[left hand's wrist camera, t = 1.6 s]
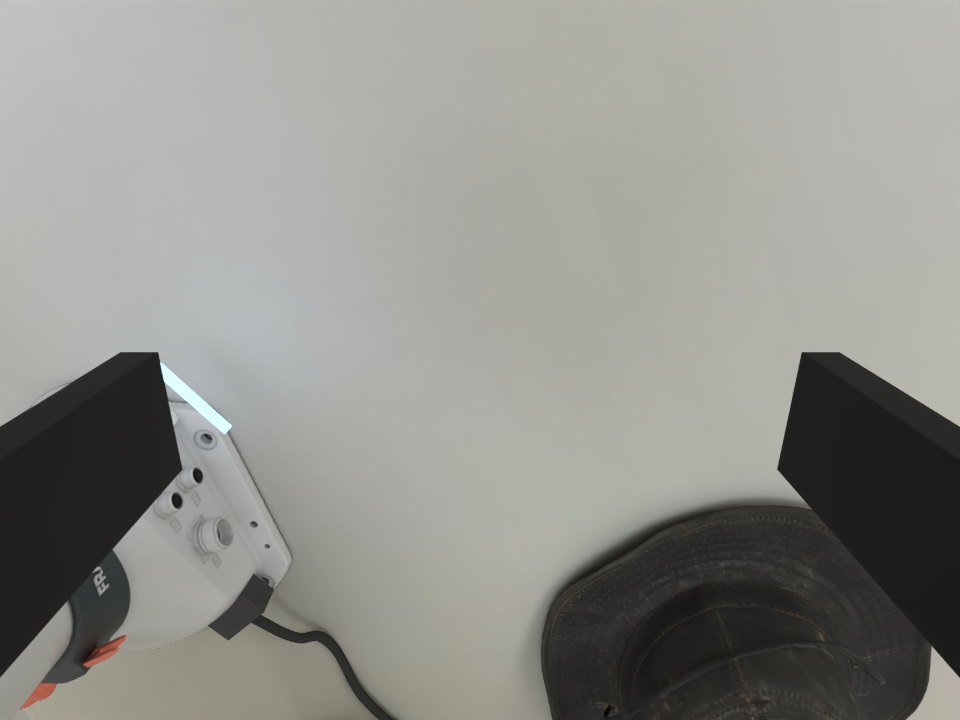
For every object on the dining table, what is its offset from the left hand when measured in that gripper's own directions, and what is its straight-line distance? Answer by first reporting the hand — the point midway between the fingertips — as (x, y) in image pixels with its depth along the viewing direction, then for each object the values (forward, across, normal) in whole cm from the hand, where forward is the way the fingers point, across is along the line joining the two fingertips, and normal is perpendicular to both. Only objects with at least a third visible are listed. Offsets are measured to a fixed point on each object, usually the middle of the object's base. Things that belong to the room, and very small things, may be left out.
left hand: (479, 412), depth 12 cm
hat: (+28, +22, -39) cm, 53 cm away
